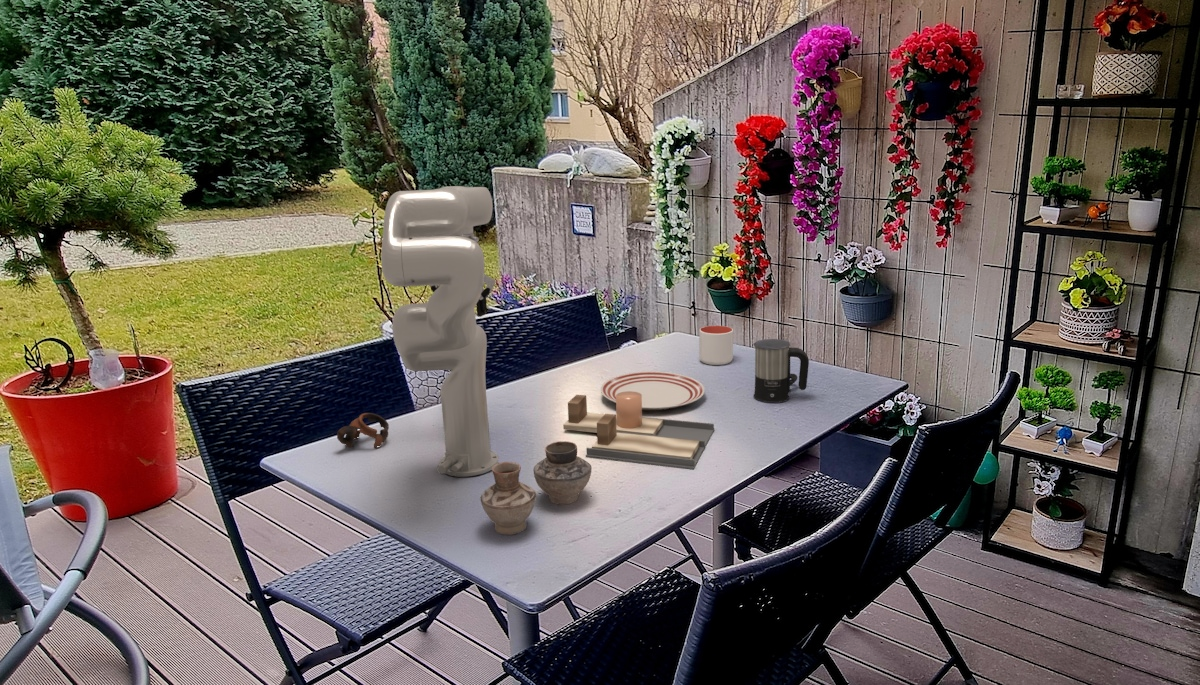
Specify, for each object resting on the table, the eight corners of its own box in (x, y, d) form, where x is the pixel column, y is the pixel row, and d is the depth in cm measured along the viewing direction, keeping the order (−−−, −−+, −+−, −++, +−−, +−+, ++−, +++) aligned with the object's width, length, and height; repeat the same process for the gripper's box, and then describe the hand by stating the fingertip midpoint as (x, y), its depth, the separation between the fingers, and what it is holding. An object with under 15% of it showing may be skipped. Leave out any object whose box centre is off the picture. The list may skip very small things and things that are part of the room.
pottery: (469, 529, 141) (464, 469, 137) (561, 480, 159) (558, 426, 156) (513, 549, 134) (509, 485, 130) (604, 495, 152) (602, 438, 149)
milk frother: (759, 405, 197) (760, 349, 193) (740, 385, 212) (741, 333, 208) (812, 400, 199) (815, 345, 195) (790, 381, 214) (792, 329, 210)
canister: (638, 429, 179) (637, 401, 177) (613, 427, 181) (612, 398, 179) (645, 420, 184) (644, 392, 182) (621, 418, 186) (620, 390, 184)
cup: (698, 366, 230) (698, 333, 228) (700, 356, 240) (700, 325, 237) (732, 366, 229) (733, 334, 226) (732, 357, 238) (733, 325, 236)
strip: (690, 462, 163) (690, 435, 162) (592, 451, 170) (591, 425, 169) (699, 446, 171) (699, 419, 170) (605, 436, 178) (604, 411, 177)
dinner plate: (726, 401, 201) (726, 389, 200) (642, 426, 187) (642, 413, 186) (660, 376, 223) (660, 364, 222) (581, 396, 209) (580, 384, 208)
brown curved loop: (365, 435, 187) (378, 408, 185) (386, 460, 183) (400, 432, 180) (322, 439, 177) (336, 411, 175) (344, 466, 173) (358, 437, 170)
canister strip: (653, 438, 176) (652, 413, 175) (563, 429, 183) (562, 404, 182) (663, 424, 184) (662, 399, 183) (577, 415, 192) (576, 392, 190)
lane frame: (693, 469, 162) (693, 461, 161) (585, 457, 169) (585, 449, 169) (714, 429, 182) (714, 422, 182) (617, 420, 190) (617, 413, 189)
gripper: (498, 239, 177) (503, 312, 182) (432, 238, 183) (439, 309, 187) (483, 244, 170) (489, 320, 175) (415, 243, 176) (422, 316, 181)
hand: (463, 314), depth 181 cm, fingers open, 9 cm apart
